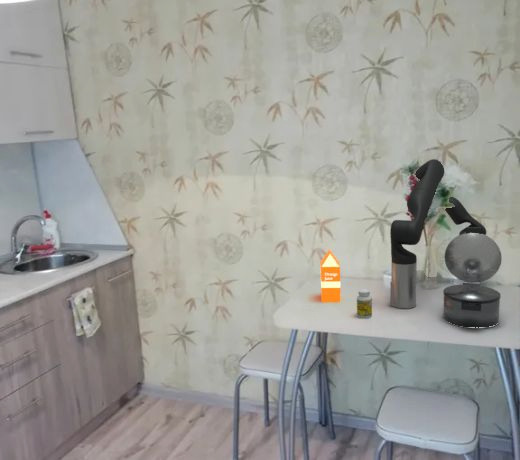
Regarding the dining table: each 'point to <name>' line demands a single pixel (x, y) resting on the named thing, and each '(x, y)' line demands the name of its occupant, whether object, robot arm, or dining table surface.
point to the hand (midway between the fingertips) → (472, 248)
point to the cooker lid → (473, 256)
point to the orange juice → (330, 278)
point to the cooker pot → (471, 305)
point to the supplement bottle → (364, 304)
